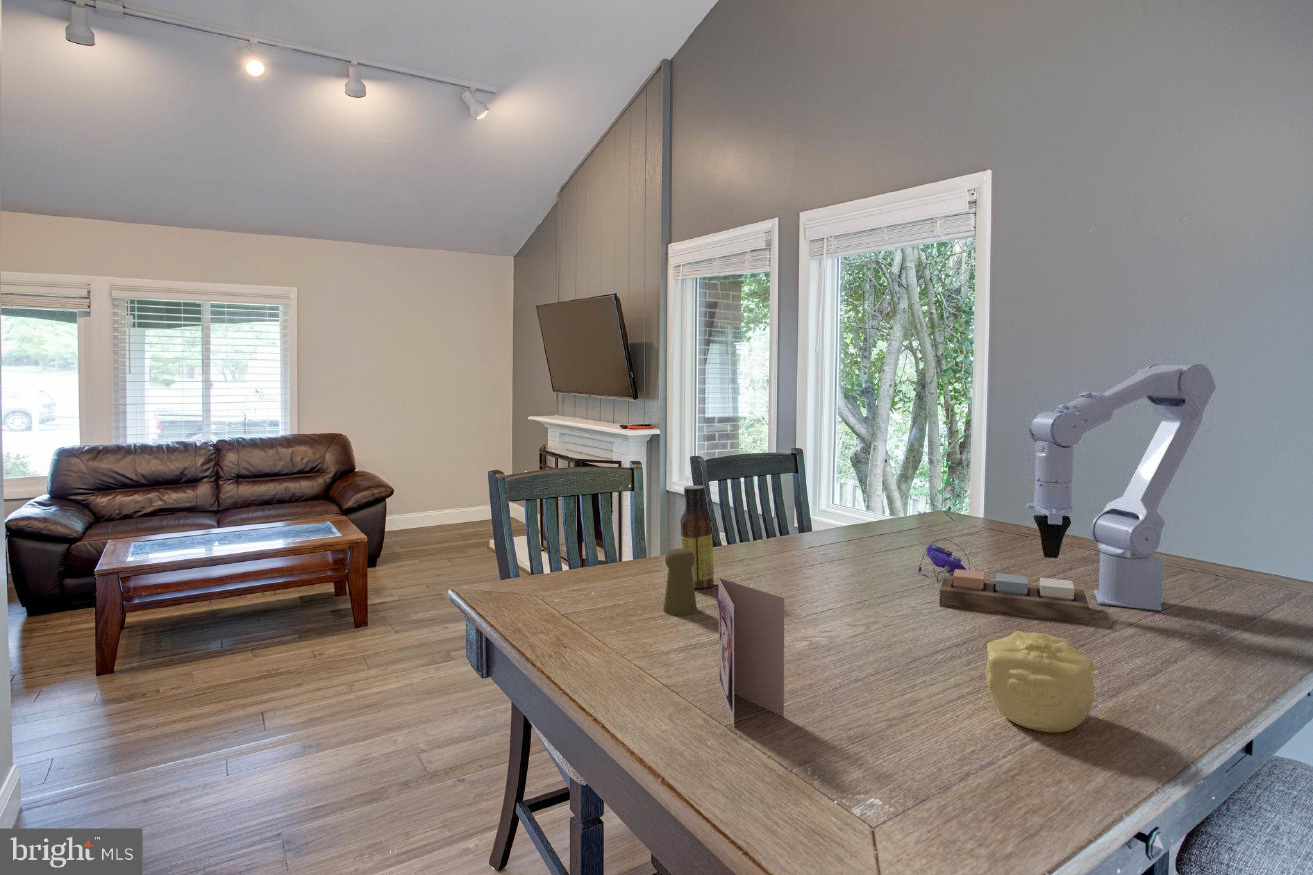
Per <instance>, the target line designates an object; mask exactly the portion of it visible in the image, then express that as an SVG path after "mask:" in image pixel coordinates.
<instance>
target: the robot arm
mask: <svg viewBox="0 0 1313 875" xmlns="http://www.w3.org/2000/svg"><path fill="white" fill-rule="evenodd" d="M1216 388H1217V387H1216V384H1215V381H1214V376H1213V374H1212V372H1211V370H1210V369H1209V368H1208V367H1207V366H1206V365H1205V364H1201V363H1193V364H1157V363H1155V364H1151V365H1148V366H1147V367H1145V368H1141V369H1138V370H1137V373H1136V374H1134V375H1133V376H1130V377H1129V378H1127V379H1126V380H1124V381H1122V382H1120V383H1119V384H1117V385H1115V386H1113V387H1112V388H1110V389H1109V390H1106V391H1105V392H1103V393H1100V392H1096V391H1084V392H1080V393H1079V395H1078V396H1079V397H1078V398H1077V399H1074V400H1072V401H1070V402H1069V403H1067V404H1065V403H1061V404H1060V405H1058V406H1057V408H1056V409H1055V410H1054V411H1043V412H1040V413H1039V414H1037V415H1036V416H1035V417H1034V418H1033V420H1032V422H1031V424H1030V425H1031V426H1029V427H1027V429H1028V434H1029V438H1030V439H1031V440H1032V441H1033V450H1034V452H1035V464H1034V466H1035V471H1034V496H1033V497H1034V498H1033V502H1031V503H1030V502H1029V503H1028V502H1027V503H1026V509H1027V510H1034V511H1036V512H1038V513H1041V514H1036V515H1035V514H1034V515H1033V520H1034V523H1035V524H1036V526H1037V528H1038V531H1039V537H1040V542H1041V550H1042V554H1043V557H1044V558H1047V559H1048V558H1049V559H1058V558H1059V556H1060V552H1061V547H1062V544H1063V539H1064V537H1065V535H1066V533H1067V530H1068V529H1069V528H1070V526H1071V524H1072V521H1071V517H1070V516H1069V515H1068V514H1070V513H1072V512H1073V506H1072V497H1073V496H1072V495H1073V494H1072V493H1073V471H1074V470H1073V469H1074V468H1073V465H1074V446H1076V445H1077V444H1078V443H1079V442H1080V441H1081V439H1082V437H1083V436H1084V434H1085V433H1087V432H1089V431H1091V430H1093V429H1096V428H1097V427H1099V426H1101V425H1103V424H1105V423H1107V422H1109V421H1110V420H1111V419H1112V418H1113V416H1114V411H1116V410H1118V409H1121V408H1123V407H1125V406H1127V405H1129V404H1132V403H1135V402H1136V401H1139V400H1141V399H1144V398H1145V399H1146V400H1147V402H1148V403H1149V405H1150V406H1151V408H1152V409H1153V411H1154V412H1155V413H1156V414H1157V415H1159V417H1160V420H1161V422H1160V423H1159V425H1158V428H1157V430H1156V431H1155V433H1154V435H1153V437H1152V439H1151V441H1150V443H1149V445H1148V447H1147V449H1146V450H1145V453H1144V455H1143V456H1142V458H1141V460H1140V463H1139V464H1138V466H1137V468H1136V470H1135V472H1134V474H1133V476H1132V477H1131V480H1130V482H1129V483H1128V486H1127V487H1126V489H1125V490H1124V492H1123V495H1122V496H1120V497H1118V498H1116V499H1113V500H1112V501H1110V502H1107V503H1106V505H1105V507H1104V509H1103V510H1102V511H1101V512H1100V513H1099V514H1098V515H1096V516H1095V517H1094V518H1093V521H1092V522H1091V526H1090V536H1091V537H1092V539H1093V541H1094V542H1095V543H1097V549H1098V550H1100V551H1099V554H1100V556H1099V575H1098V576H1099V577H1098V579H1099V580H1098V589H1093V593H1094V596H1095V598H1096V603H1097V604H1098V605H1099V604H1100V605H1105V606H1113V607H1115V606H1116V607H1124V608H1132V609H1139V610H1140V609H1141V610H1142V609H1143V610H1149V611H1150V610H1151V611H1159V612H1160V611H1161V612H1162V596H1163V577H1164V575H1163V574H1164V568H1163V560H1162V558H1161V556H1157V555H1152V554H1155V553H1154V552H1156V551H1157V549H1158V547H1159V546H1160V543H1161V537H1162V536H1161V535H1162V534H1161V533H1162V531H1163V528H1164V526H1165V524H1166V522H1165V520H1164V518H1163V517H1162V516H1161V514H1160V513H1159V512H1158V510H1157V509H1158V508H1159V505H1160V503H1161V501H1162V499H1163V497H1164V495H1165V494H1166V492H1167V489H1169V488H1168V487H1169V486H1170V484H1171V482H1172V480H1173V478H1174V476H1175V474H1176V472H1177V470H1178V468H1179V467H1180V465H1181V463H1182V461H1183V459H1184V456H1185V455H1186V453H1187V451H1188V449H1189V448H1190V446H1191V443H1192V442H1193V440H1194V437H1195V435H1196V434H1197V432H1198V430H1199V428H1200V426H1201V424H1202V422H1203V415H1204V412H1205V409H1206V407H1207V406H1208V404H1209V401H1210V399H1211V397H1212V395H1213V394H1214V392H1215V390H1216ZM1042 514H1043V515H1042Z"/></svg>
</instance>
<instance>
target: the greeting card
mask: <svg viewBox="0 0 1313 875" xmlns="http://www.w3.org/2000/svg"><path fill="white" fill-rule="evenodd" d="M713 594H714V595H715V596H714V597H715V599H716V602H717V607H718V687H720V688H719V689H720V692H721V696H722V695H723V696H722V699H723V698H724V699H723V701H724V704H725V707H726V710H727V712H728V715H729V718H730V721H731V724H732V726H733V728H735V695H736V696H738V697H740V698H742V699H745V700H747V701H748V702H751V703H753V704H755V705H757V706H759V707H761V708H764V709H766V710H768V711H770V712H771V713H774V714H776V715H778V716H780V717H782V718H784V717H785V711H784V710H785V708H784V707H785V597H782V596H779V595H777V594H773V593H769V592H766V591H762V590H760V589H756V588H753V587H751V586H750V587H749V586H746V585H744V584H740V583H737V582H734V581H730V580H727V579H724V578H721V577H718V595H717V594H716V592H715V591H713Z"/></svg>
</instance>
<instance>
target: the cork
mask: <svg viewBox="0 0 1313 875" xmlns="http://www.w3.org/2000/svg"><path fill="white" fill-rule="evenodd" d="M665 554H666V555H665V558H664V559H665V566H666V567H667V568H668V570H667V580H666V585H665V586H666V588H665V594H664V596H665V597H664V604H663V612H664V613H665V614H667V615H670V616H676V617H677V616H680V617H684V616H690V615H693V614H696V613H697V612H698V607H697V606H698V605H697V601H696V600H697V599H696V592H695V591H696V590H695V588H694V584H693V577H692V570H691V568H692V566H693V565H694V554H693V553H692V551H690V550H688V549H683V548H681V547H680V548H679V547H678V548H672V549H670V550H668V551H667V552H666V553H665Z"/></svg>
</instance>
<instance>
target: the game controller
mask: <svg viewBox="0 0 1313 875" xmlns="http://www.w3.org/2000/svg"><path fill="white" fill-rule="evenodd" d="M938 541H945V539H944V538H943V539H942V538H941V539H936V540H934V541H933V542H932V543H929V545H928V546H927V547H926V550H925V551H924V554H923V556H922V559H921V560H920V563H919V566H918V569H917V570H918V573H921V571H922V567H921V566H922V565H921V564H922V562H923V559H924V558H925V556H927V557H928V558H929V559H930V561H931V565H932V566H935V567H937V568H940V569H941V568H942V569H944V570H943V571H938V572H937V575H936V572H935V568H934V567H932V569H933V573H934V575H935V578H936V582H937V583H939V574H940V573H947V574H950V575H952V576H953V575H954V571H955V569H959V570H967V568H966V567H965V566H964V565H963V564H962V561H963V560H962V559H961V558H960V557H958V556H956V555H953V552H952V551H951V550H950V549H946V548H943V547H941V546H939V545H937V544H935V542H938ZM946 541H948V542H951V543H953V544H954V545H956V546H957V547H959V548H960V546H959V545H958V544H956V543H955V542H953V541H951V540H948V539H946ZM962 552H963V553H964V555H965V556H966V558H967V560H968V566H969V568H968V570H969V571H971V570H970V569H971V563H970V560H969V557H968V555H967V553H966V552H965V551H964V550H962Z"/></svg>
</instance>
